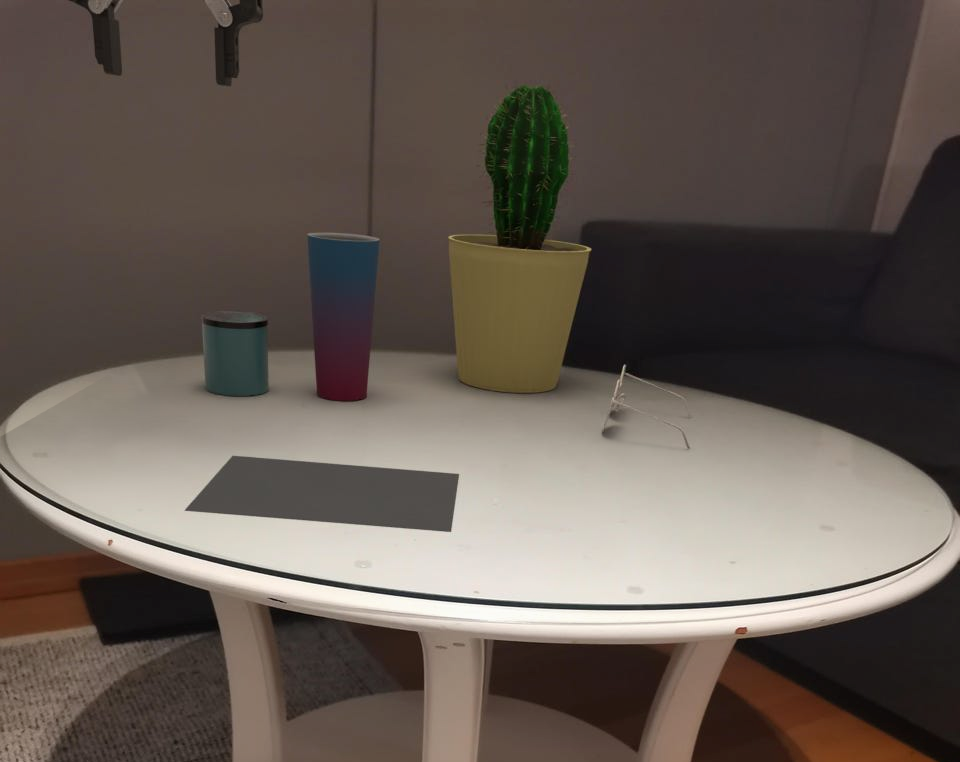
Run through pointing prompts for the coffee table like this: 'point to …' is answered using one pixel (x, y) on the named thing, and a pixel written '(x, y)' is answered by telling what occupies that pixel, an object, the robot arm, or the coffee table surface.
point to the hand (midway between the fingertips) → (168, 80)
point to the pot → (235, 353)
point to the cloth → (331, 493)
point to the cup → (342, 311)
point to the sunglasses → (620, 404)
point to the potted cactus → (518, 256)
